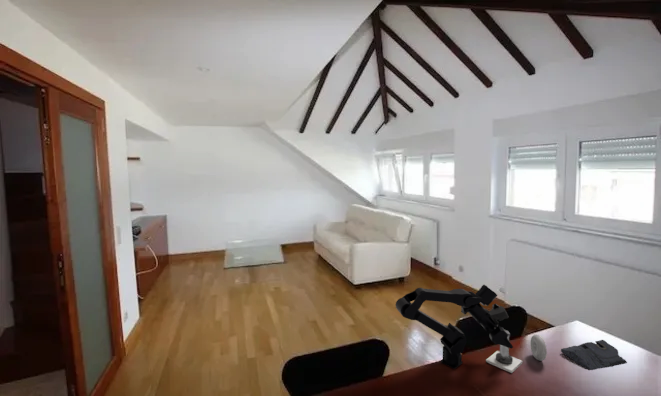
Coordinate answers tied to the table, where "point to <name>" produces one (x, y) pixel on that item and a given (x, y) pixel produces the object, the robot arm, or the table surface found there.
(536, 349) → the donut
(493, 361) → the ceramic tile
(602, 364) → the folded grey shirt
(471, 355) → the table surface
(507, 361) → the grey channel block
